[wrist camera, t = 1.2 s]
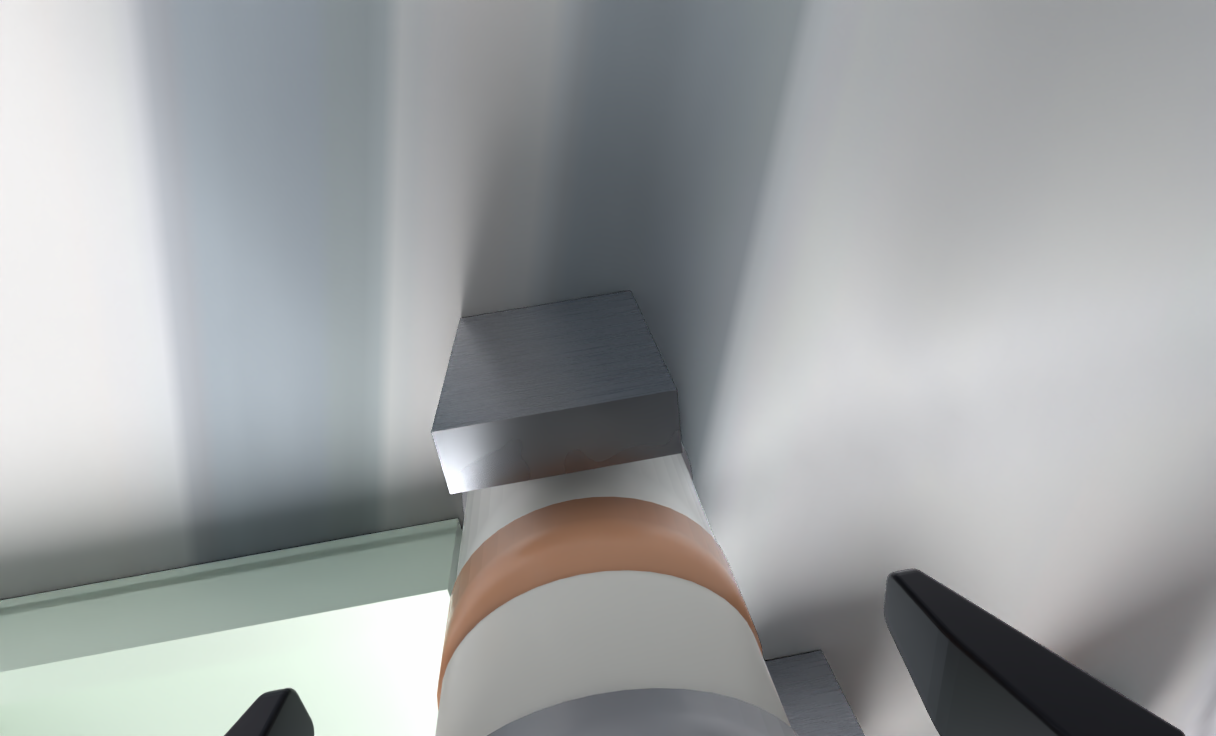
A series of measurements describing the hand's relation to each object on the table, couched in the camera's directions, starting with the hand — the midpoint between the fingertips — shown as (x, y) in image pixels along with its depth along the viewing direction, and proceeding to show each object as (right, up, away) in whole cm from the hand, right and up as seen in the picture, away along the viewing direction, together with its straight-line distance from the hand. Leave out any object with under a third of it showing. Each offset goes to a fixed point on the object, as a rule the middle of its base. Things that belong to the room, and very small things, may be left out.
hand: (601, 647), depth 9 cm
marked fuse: (-1, +2, +4) cm, 5 cm away
